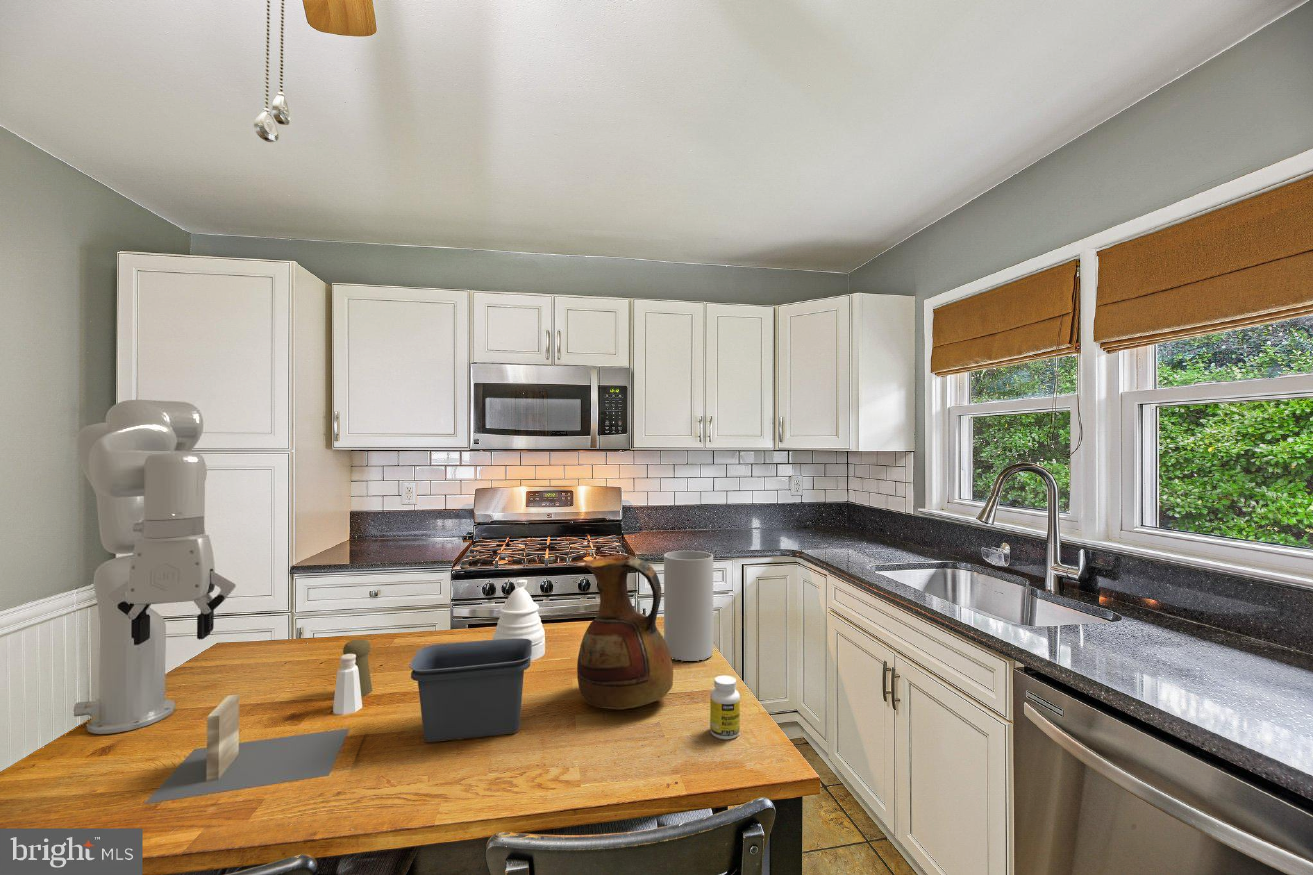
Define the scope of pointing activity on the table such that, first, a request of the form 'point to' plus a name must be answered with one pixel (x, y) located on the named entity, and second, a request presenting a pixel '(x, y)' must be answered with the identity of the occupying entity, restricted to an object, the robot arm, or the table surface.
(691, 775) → the table surface
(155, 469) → the robot arm
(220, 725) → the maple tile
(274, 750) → the rubber mat
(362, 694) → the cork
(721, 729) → the supplement bottle
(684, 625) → the cylinder vase
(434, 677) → the storage bin
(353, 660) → the salt shaker
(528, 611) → the honey pot
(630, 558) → the ceramic pitcher
